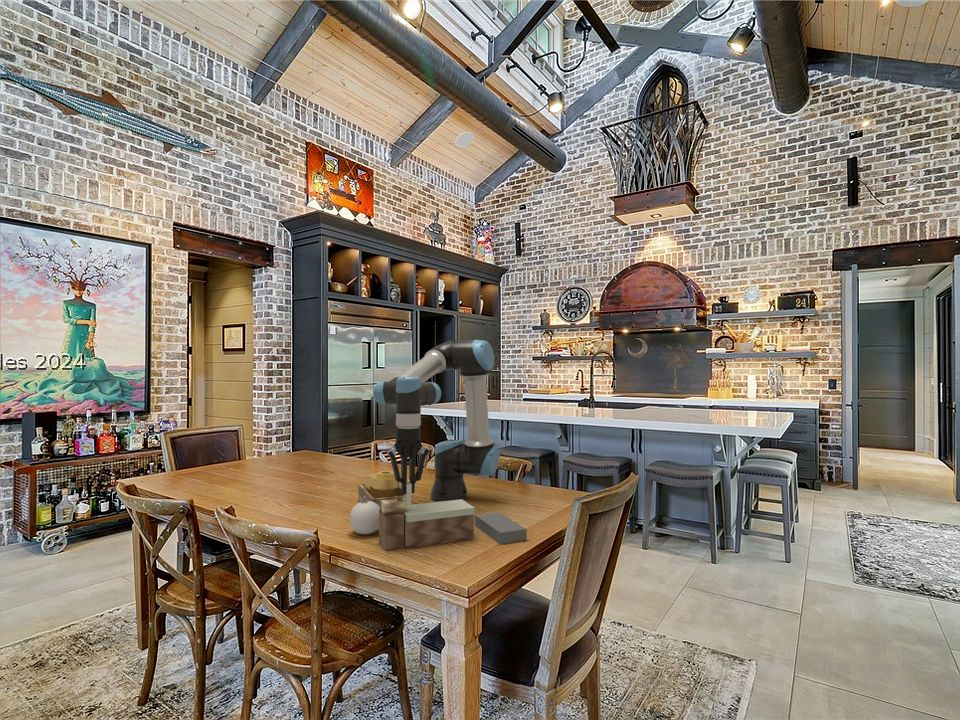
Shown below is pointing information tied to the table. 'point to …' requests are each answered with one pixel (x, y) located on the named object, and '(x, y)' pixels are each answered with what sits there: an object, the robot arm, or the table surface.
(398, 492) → the box
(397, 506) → the beige notched block
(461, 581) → the table surface
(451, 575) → the table surface
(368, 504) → the ornament
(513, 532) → the block
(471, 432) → the robot arm
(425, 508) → the lid
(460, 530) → the toolbox
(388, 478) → the tan round stepped piece
